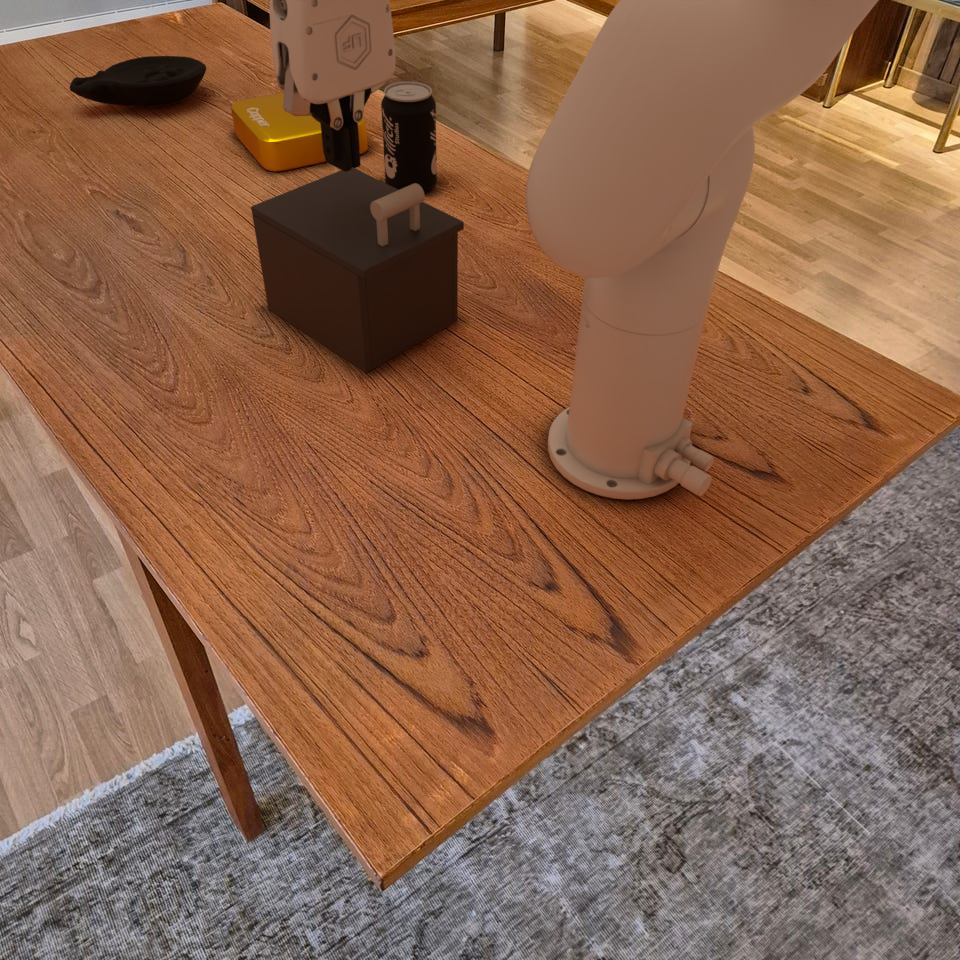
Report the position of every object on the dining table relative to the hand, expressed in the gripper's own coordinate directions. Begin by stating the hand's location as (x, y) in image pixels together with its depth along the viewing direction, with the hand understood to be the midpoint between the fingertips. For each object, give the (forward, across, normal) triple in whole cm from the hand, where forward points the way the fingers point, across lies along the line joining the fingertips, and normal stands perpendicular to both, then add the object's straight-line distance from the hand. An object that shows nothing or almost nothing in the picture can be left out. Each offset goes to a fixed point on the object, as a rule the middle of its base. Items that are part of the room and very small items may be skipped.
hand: (342, 164), depth 82 cm
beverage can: (+16, +24, +17) cm, 34 cm away
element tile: (+16, +22, +37) cm, 46 cm away
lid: (+5, 0, -1) cm, 5 cm away
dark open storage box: (+16, 0, -1) cm, 16 cm away
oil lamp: (+16, +14, +64) cm, 68 cm away
